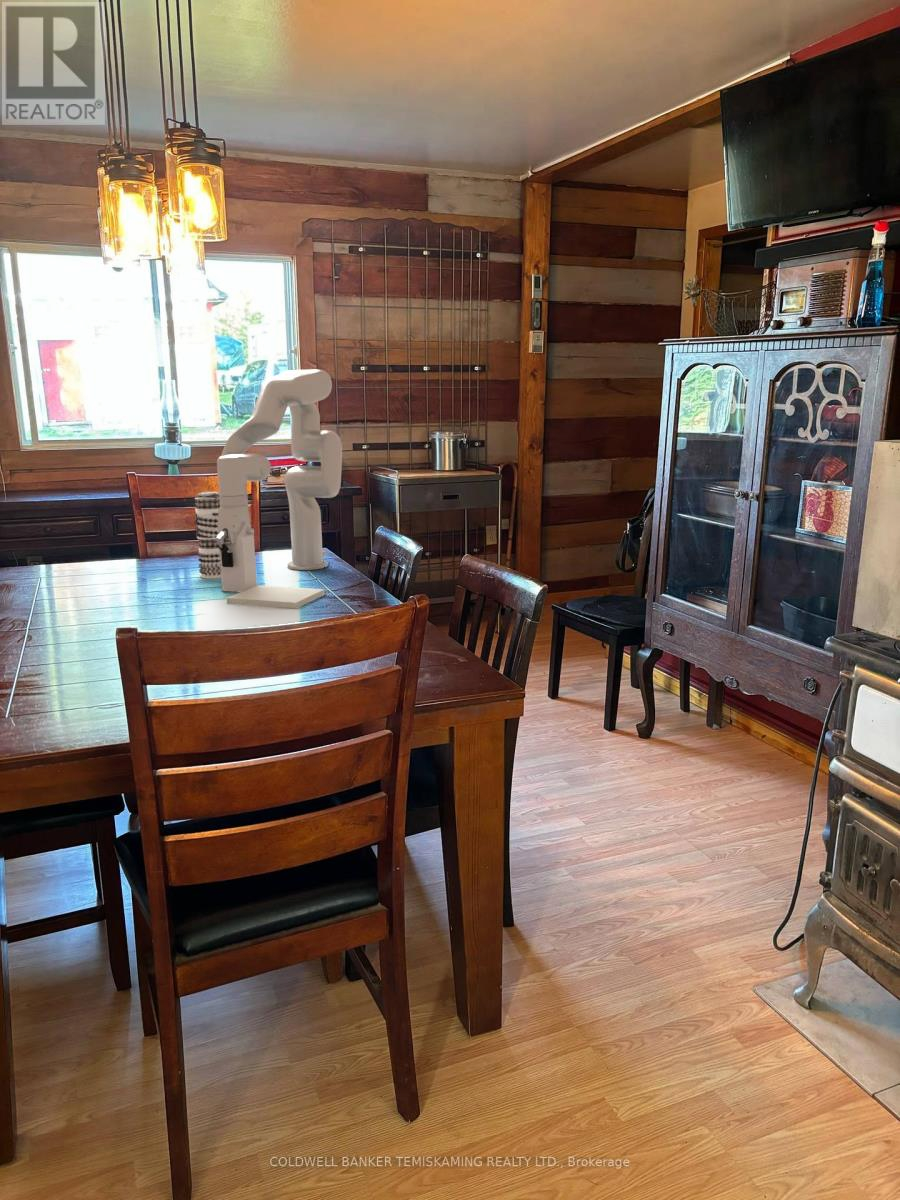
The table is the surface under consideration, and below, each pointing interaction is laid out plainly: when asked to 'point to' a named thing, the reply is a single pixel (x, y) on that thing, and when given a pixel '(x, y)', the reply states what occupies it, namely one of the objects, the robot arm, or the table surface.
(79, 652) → the table surface
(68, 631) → the table surface
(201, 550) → the decorative candle
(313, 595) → the serving board
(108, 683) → the table surface
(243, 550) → the milk carton
